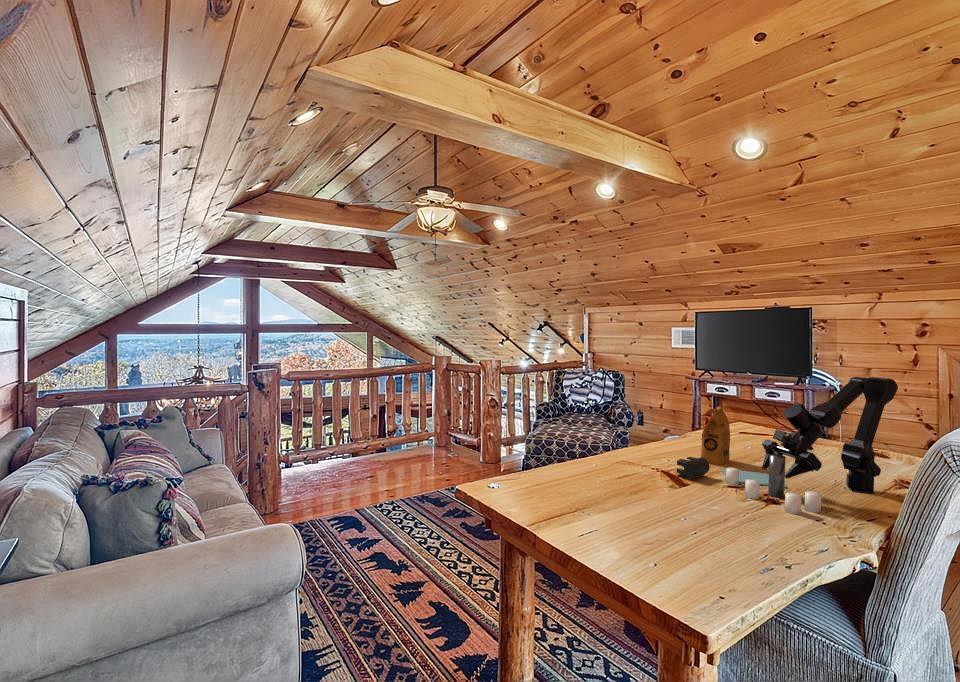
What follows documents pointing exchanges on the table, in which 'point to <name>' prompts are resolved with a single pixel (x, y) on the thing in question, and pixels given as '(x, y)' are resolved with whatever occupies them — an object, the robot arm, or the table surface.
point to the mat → (752, 477)
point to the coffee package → (716, 438)
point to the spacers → (790, 498)
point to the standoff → (776, 475)
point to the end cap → (692, 467)
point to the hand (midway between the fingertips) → (773, 472)
